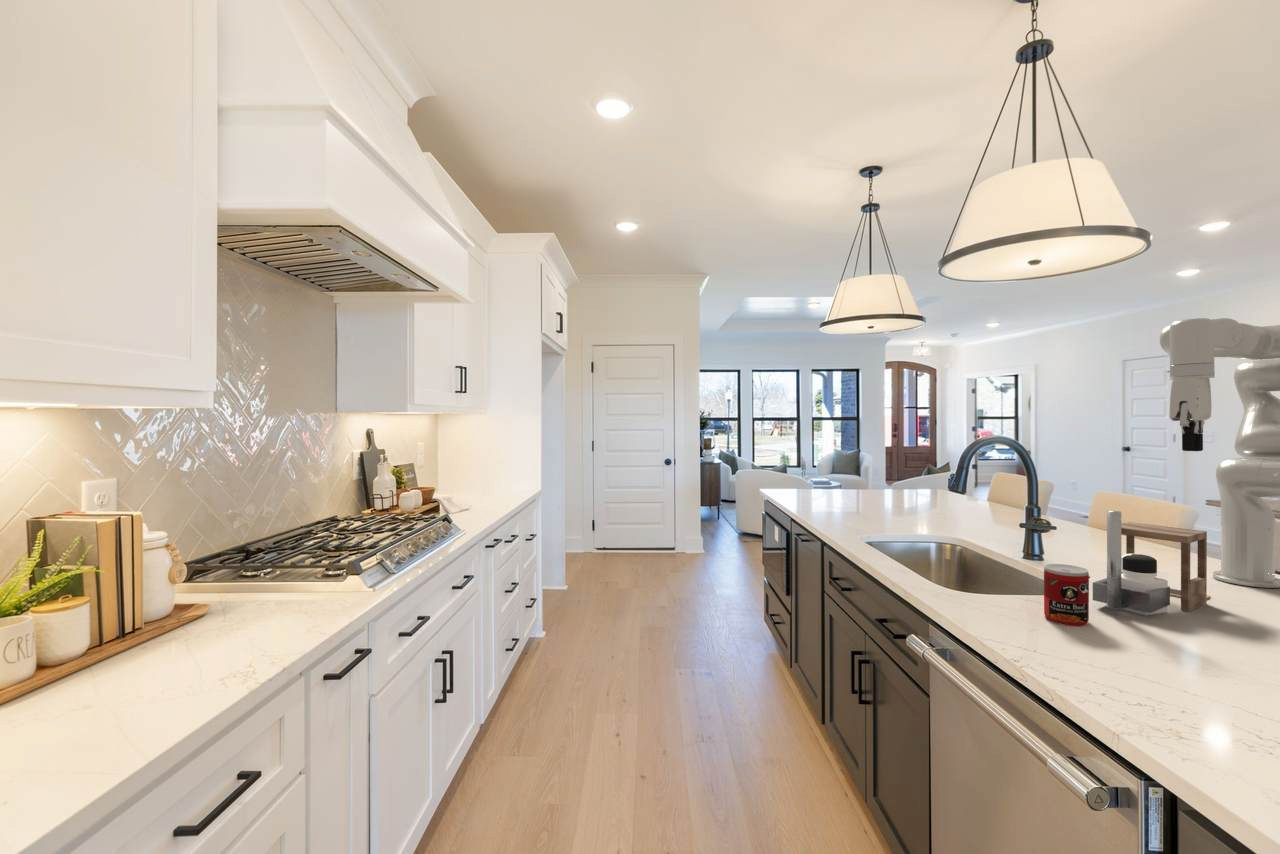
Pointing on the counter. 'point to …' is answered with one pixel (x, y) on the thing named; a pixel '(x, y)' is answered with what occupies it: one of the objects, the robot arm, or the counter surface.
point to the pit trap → (1178, 593)
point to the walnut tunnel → (1190, 589)
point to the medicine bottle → (1141, 577)
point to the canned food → (1066, 594)
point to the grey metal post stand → (1111, 586)
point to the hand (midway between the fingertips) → (1192, 450)
